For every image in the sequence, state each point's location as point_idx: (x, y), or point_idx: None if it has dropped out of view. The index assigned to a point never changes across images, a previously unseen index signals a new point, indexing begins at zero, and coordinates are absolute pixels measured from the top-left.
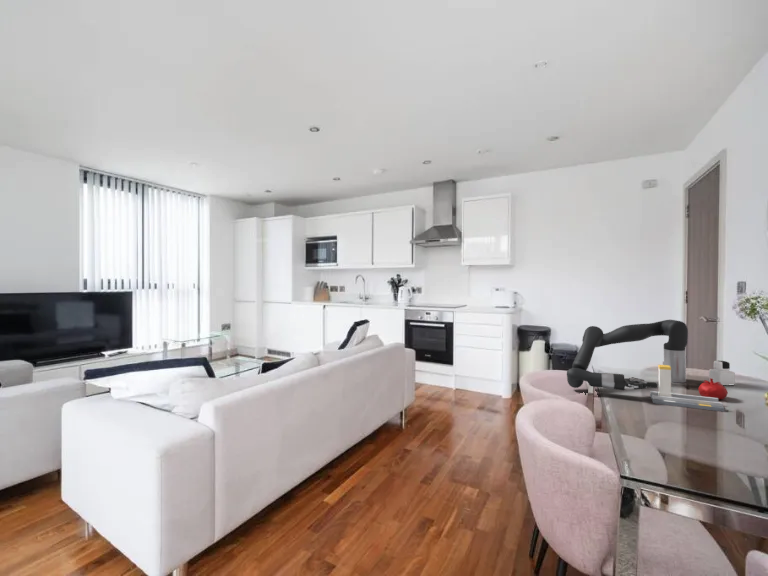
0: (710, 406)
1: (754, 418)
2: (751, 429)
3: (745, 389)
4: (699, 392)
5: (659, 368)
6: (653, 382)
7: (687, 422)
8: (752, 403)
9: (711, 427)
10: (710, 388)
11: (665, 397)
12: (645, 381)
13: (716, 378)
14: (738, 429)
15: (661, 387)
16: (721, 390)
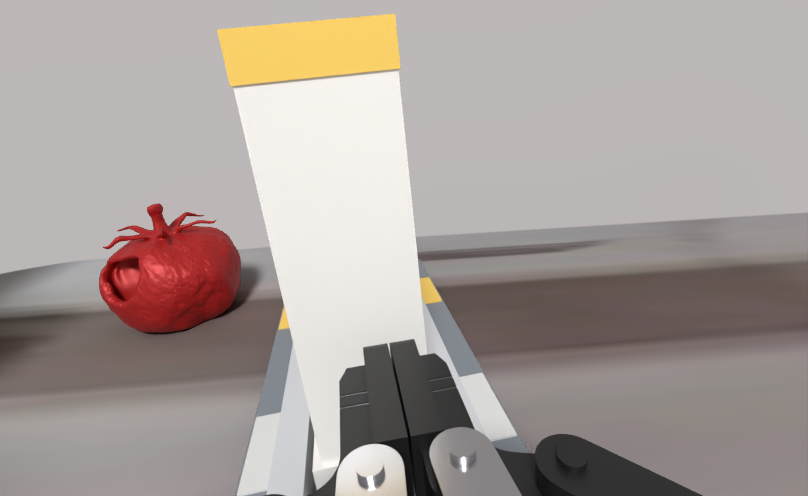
0: (430, 279)
1: (443, 240)
2: (590, 234)
3: (41, 275)
4: (163, 316)
5: (385, 59)
6: (378, 365)
7: None
8: (246, 255)
9: (738, 274)
10: (212, 250)
11: (470, 406)
12: (384, 462)
13: None
14: (637, 243)
15: (425, 345)
16: (230, 239)
